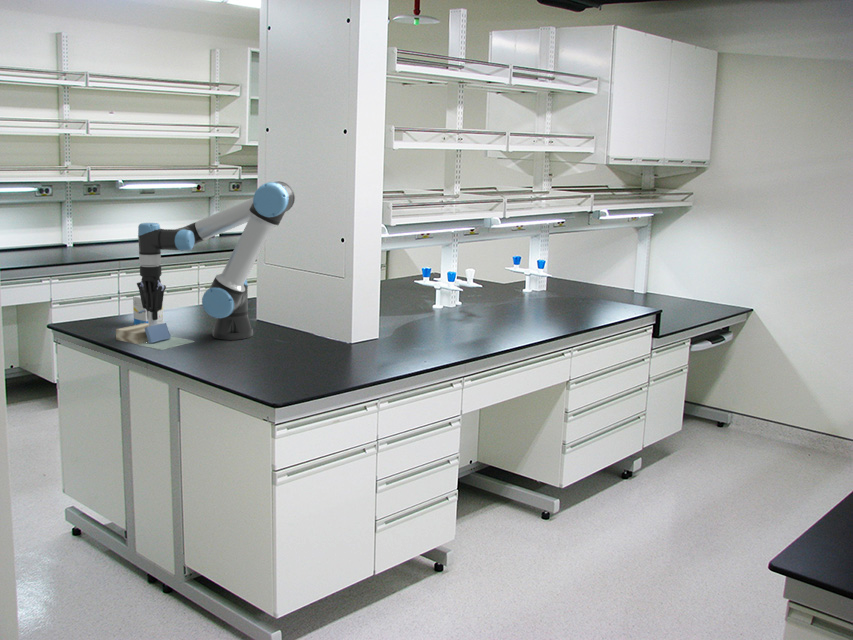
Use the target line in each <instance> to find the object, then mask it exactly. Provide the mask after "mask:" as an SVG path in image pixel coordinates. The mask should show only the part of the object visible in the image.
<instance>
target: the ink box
mask: <svg viewBox="0 0 853 640" xmlns="http://www.w3.org/2000/svg"><path fill="white" fill-rule="evenodd" d="M132 300H133V301H132V304H133V305H132V306H133V307H132V308H133V310H132V311H133V325H138V324H143V323H148V317H147V310H146V309H144V308H143V306H142V301H141V297H140V295H133V297H132ZM163 305H164V303H162V309H161V310H158V312H157V313H158V319H157V325H158V324H163V323H164V306H163Z"/></svg>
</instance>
